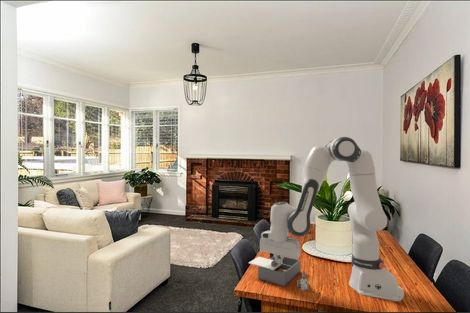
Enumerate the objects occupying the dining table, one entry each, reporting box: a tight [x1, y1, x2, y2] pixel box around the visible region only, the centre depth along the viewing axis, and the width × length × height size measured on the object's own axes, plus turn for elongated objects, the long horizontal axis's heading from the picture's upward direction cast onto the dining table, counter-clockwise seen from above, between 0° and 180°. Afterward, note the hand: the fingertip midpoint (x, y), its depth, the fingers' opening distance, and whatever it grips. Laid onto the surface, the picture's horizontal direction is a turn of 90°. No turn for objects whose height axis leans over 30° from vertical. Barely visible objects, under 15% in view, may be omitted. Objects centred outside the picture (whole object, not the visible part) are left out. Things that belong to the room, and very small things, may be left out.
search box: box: [257, 255, 301, 287], centre depth 140 cm, size 14×20×6 cm
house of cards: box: [296, 270, 310, 292], centre depth 129 cm, size 9×9×8 cm
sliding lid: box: [248, 256, 283, 270], centre depth 139 cm, size 14×10×2 cm
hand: (279, 263), depth 135 cm, fingers closed
